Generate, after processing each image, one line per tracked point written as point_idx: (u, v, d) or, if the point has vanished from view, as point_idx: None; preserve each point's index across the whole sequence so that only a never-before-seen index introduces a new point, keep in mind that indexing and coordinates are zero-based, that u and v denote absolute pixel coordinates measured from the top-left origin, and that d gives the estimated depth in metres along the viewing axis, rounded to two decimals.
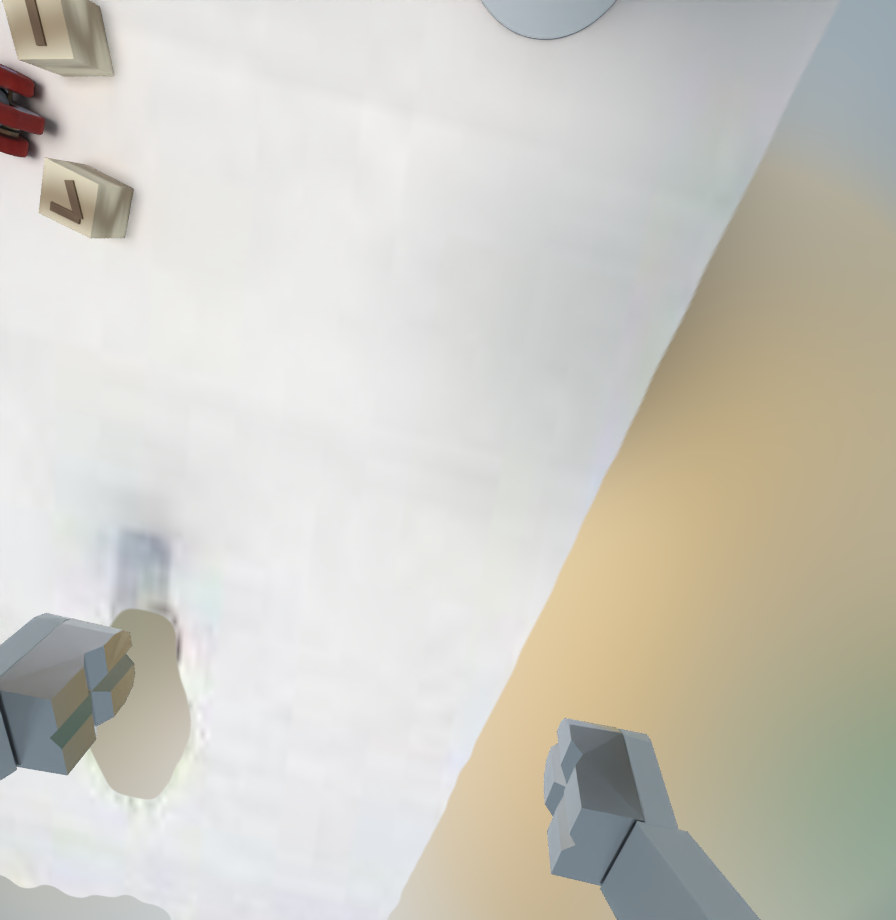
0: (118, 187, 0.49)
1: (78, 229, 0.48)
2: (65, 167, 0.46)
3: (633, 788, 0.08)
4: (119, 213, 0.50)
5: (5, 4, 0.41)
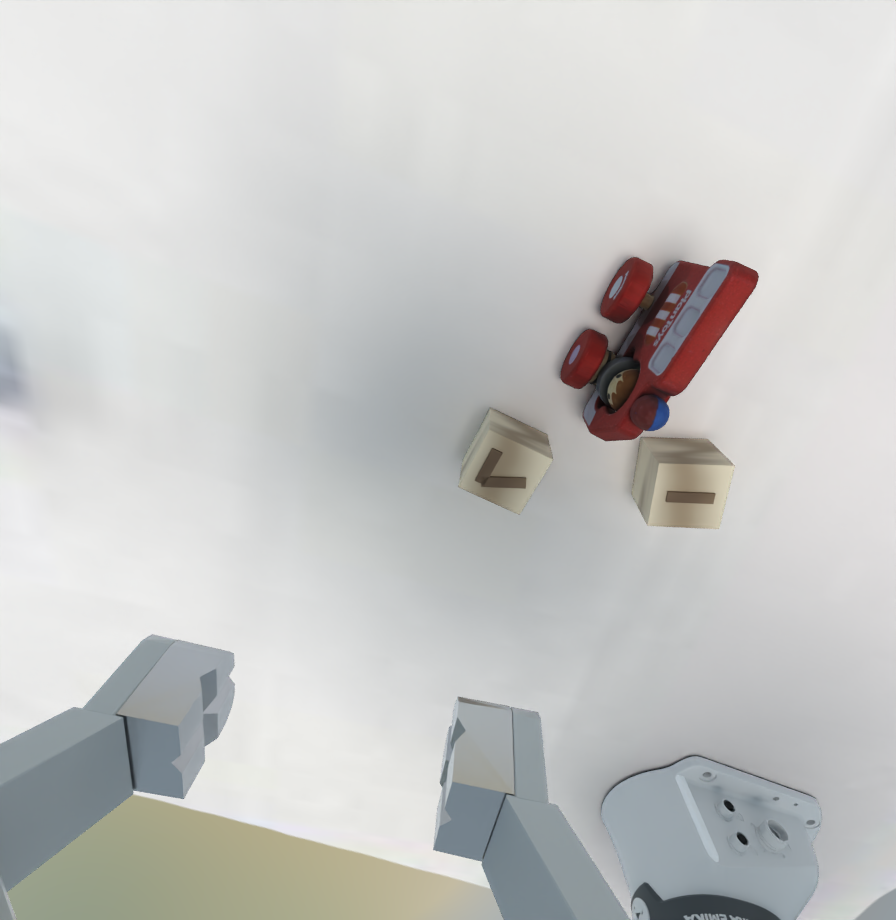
0: None
1: (468, 475, 0.37)
2: (540, 478, 0.36)
3: (512, 763, 0.08)
4: None
5: (713, 467, 0.35)
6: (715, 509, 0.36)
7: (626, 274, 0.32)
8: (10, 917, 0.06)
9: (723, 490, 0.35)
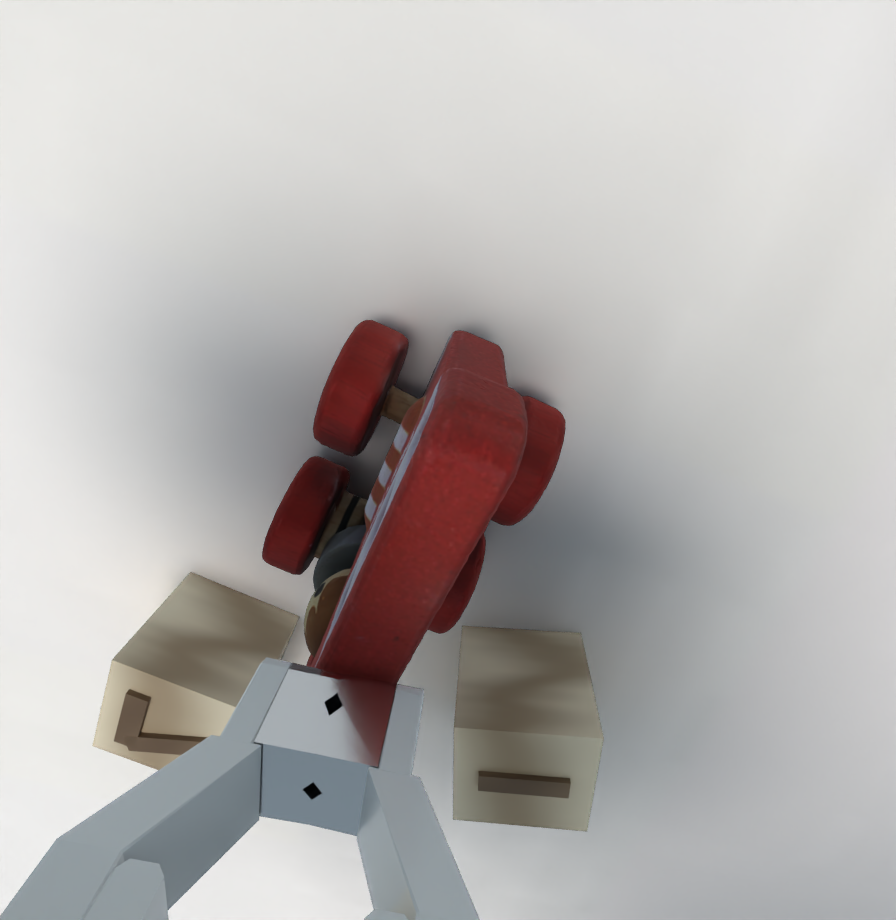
0: None
1: (103, 729, 0.19)
2: None
3: (384, 738, 0.08)
4: None
5: (561, 738, 0.17)
6: (575, 802, 0.18)
7: None
8: None
9: (586, 775, 0.18)
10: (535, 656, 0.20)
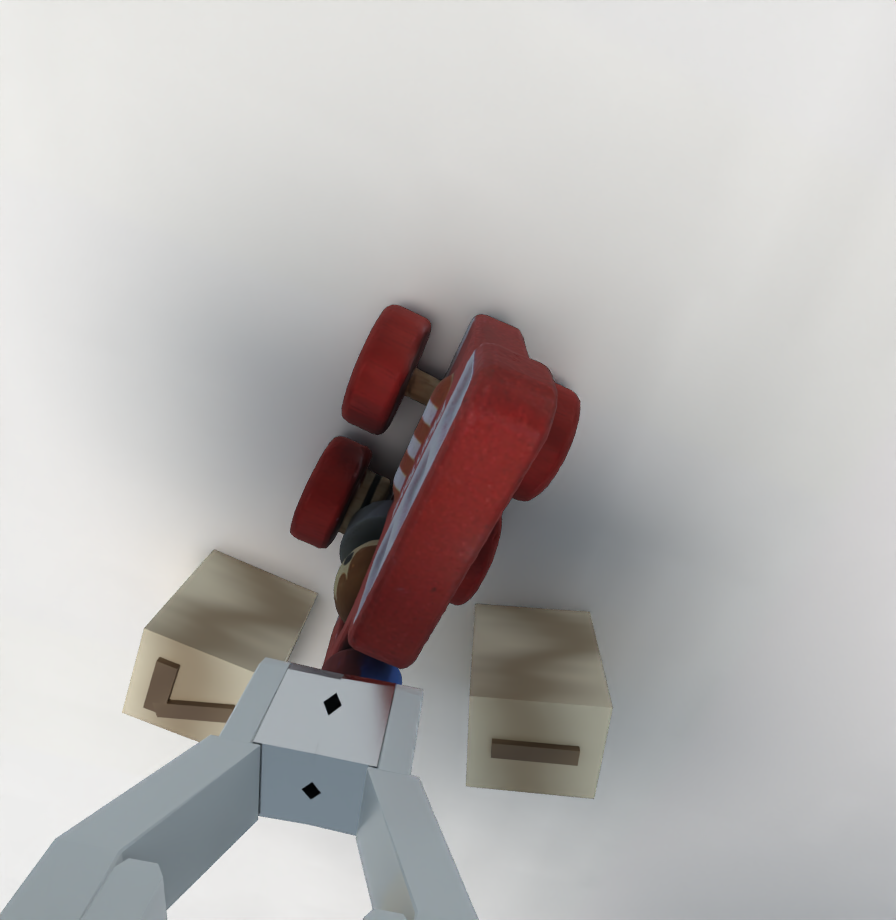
0: None
1: (133, 696, 0.20)
2: None
3: (384, 737, 0.08)
4: None
5: (572, 707, 0.18)
6: (584, 770, 0.19)
7: None
8: None
9: (595, 744, 0.19)
10: (546, 632, 0.21)
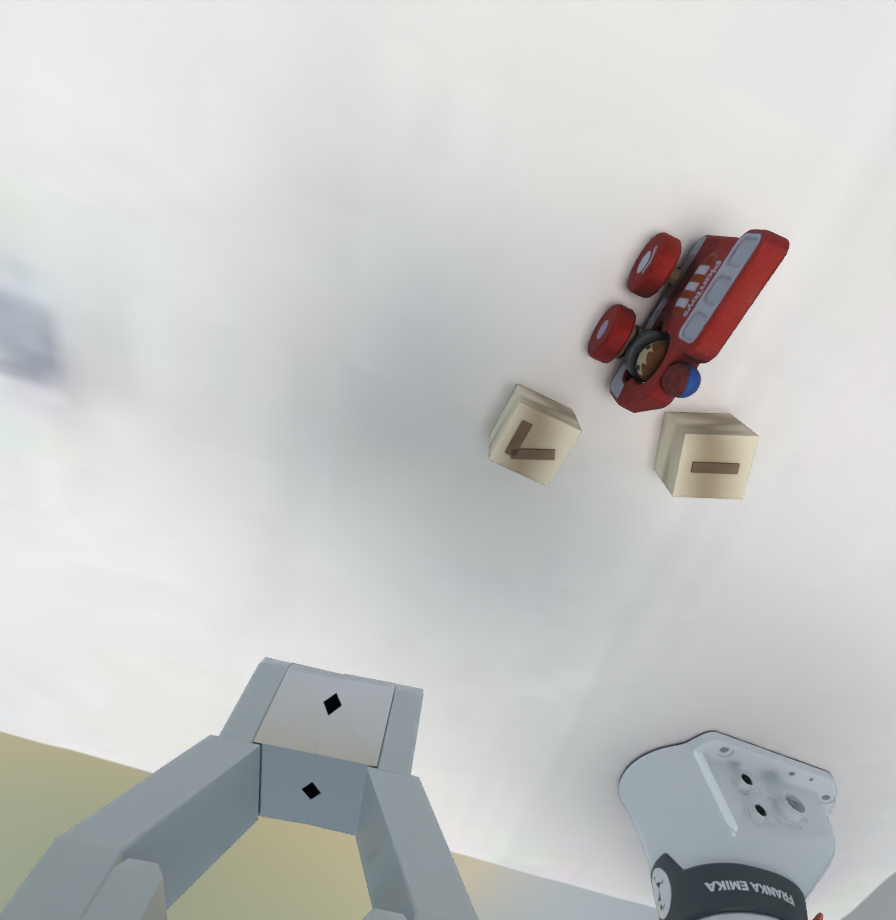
0: None
1: (498, 447, 0.38)
2: None
3: (384, 737, 0.08)
4: None
5: (738, 437, 0.36)
6: (739, 480, 0.37)
7: (655, 249, 0.33)
8: None
9: (747, 461, 0.36)
10: (710, 419, 0.39)
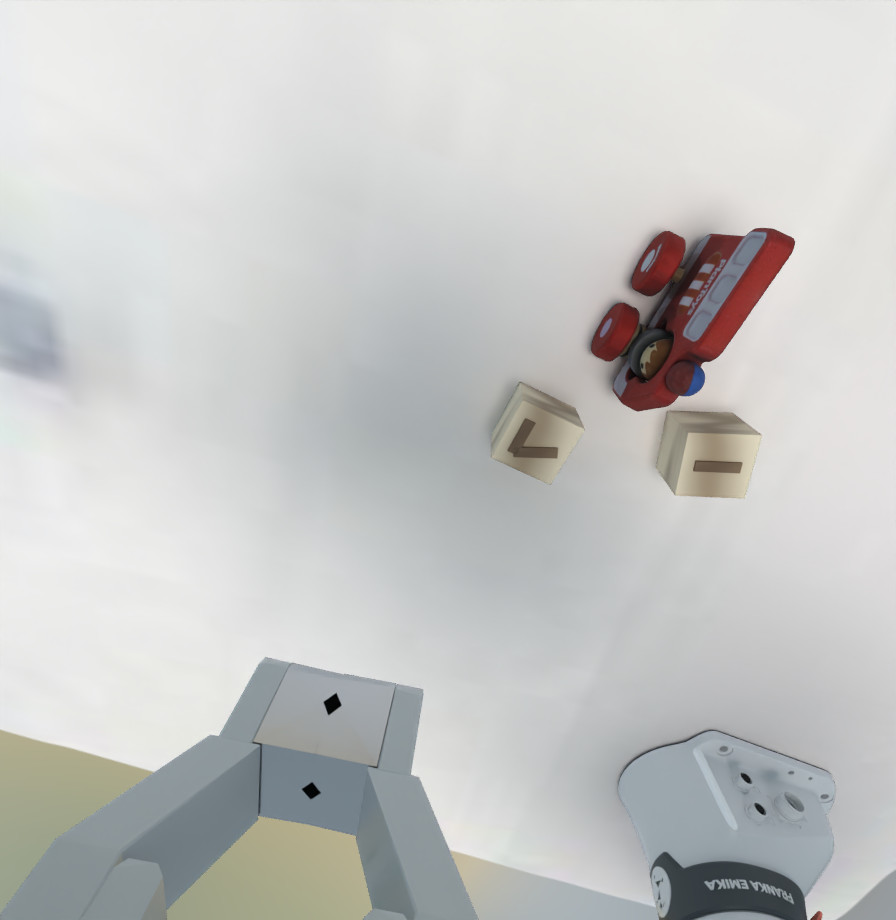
0: None
1: (501, 446, 0.37)
2: None
3: (384, 738, 0.08)
4: None
5: (741, 436, 0.36)
6: (741, 479, 0.37)
7: (659, 247, 0.33)
8: None
9: (749, 460, 0.36)
10: (713, 418, 0.39)
